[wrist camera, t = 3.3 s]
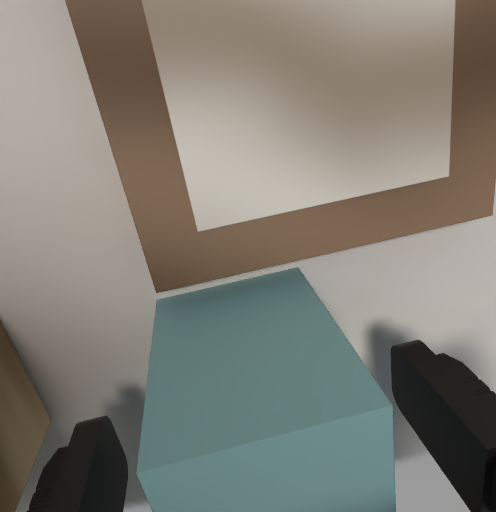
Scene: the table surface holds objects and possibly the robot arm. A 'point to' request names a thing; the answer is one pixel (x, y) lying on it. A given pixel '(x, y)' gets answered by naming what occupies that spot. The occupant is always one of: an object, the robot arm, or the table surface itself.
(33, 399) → the ochre block
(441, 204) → the brown framed white board
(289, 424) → the teal block
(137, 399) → the table surface
